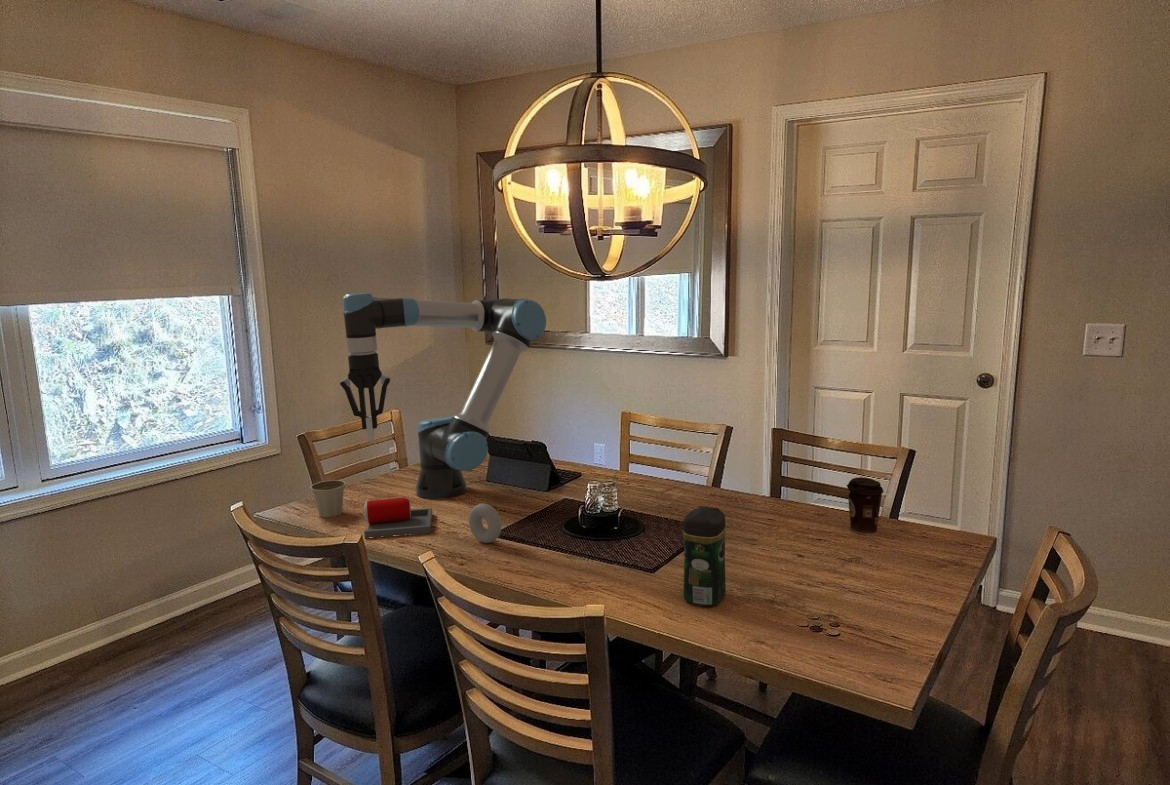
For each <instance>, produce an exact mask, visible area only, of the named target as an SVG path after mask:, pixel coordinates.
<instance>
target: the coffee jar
mask: <svg viewBox="0 0 1170 785" xmlns="http://www.w3.org/2000/svg"><path fill="white" fill-rule="evenodd" d="M682 524H683V527H682V535H683V549H684V550H683V552H684V553H683V554H684V555H683V556H684V557H683V562H684V563H683V598H684V599H683V600H685V601H686V602H687V603H690V604H691V605H693V606H696V607H715V606H717V605H719V603H720V602H721V601H722V600H723V598H724V596H725V594H726V588H727V587H726V586H727V585H726V583H727V582H726V516H725V514H724V512H723V511H722V510H720V509H719V507H713V506H712V507H711V506H703V505H701V506H699V507H698V508H695V509H693V510H691V511H690V512H689V513H688V514H687V515H686V516H685V517H684V518H683V522H682Z"/></svg>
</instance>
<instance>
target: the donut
mask: <svg viewBox="0 0 1170 785" xmlns="http://www.w3.org/2000/svg"><path fill="white" fill-rule="evenodd" d="M483 518H484V520H485V521H486V522H487V528H486V527H485V526H484V524H483ZM468 525H469V529H470V532H471V533H472V535H473V536H474V537H475V539H477V541H479V542H481V543H483V544H491V543H493V542H495V541H496V540H497V539H498V538H499V537H500V535H501V531H502V521H501V517H500V514H499V513H498V512H497V510H496V508H494V507H493V506H492V505H490V504H487V503H478V504H476V505H475V506H473V508H471V510H470V512H469V515H468Z"/></svg>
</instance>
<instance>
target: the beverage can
mask: <svg viewBox="0 0 1170 785" xmlns="http://www.w3.org/2000/svg"><path fill="white" fill-rule="evenodd" d="M363 506H364V507H363V509H364V510H363V512H364V521H365V522H367V524H368V525H369V524H374V523H384V522H393V521H403V520H407V519H408V518H410V517H411V509H412V508H411V500H410V499H409V498H407V497H394V498H386V499H385V498H384V499H373V500H367V501H365V503H364V505H363Z"/></svg>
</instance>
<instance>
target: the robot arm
mask: <svg viewBox="0 0 1170 785" xmlns="http://www.w3.org/2000/svg"><path fill="white" fill-rule="evenodd" d="M342 313H343V321H344V327H345V340H346V341H345V342H346V348H347V349H346V350H347V353H348V354H349V355H347V360H348V369H349V371H348V374H347V377H346V378H345V379H342V380H341V381H340V382H339V385H340V386H341V388H342V389H343V390H344V392H345V395H346V398H347V400H348V403H349V405H350V407H351V411H352V414H353V416H355V417H359V418H360V419H361V428H362V430H366V435H367V442H368V443H372V442H373V443H374V442H375V432H374V431H375V430H374V429H377V427H378V418H377V416H379V415H382V414H383V412H384V407H385V400H386V395H387V389H388V386H389V384H390V382H391V377H389V376H386V375H383V373H382V371H381V369H380V363H379V354H378V353H377V351H378V343H377V341H378V340H377V339H378V338H377V332H376V331H377V330H376V329H386V328H401V327H405V328H407V327H411V326H412V327H437V328H464V329H467V328H468V329H471V330H472V331H473V332H483V333H487V334H488V333H489V334H492V336H493V343H492V345H491V347H490V349H489V351H488V352H487V356H486V357H485V360H484V362H483V364H482V366H481V368H480V370H479V373H478V374H477V377H476V379H475V381H474V383H473V385H472V387H471V388H470V389H471V390H470V392H469V393H468V395H467V398H466V400H465V401H464V404H463V406H462V408H461V411H460V412H459V413H457V414H455V415H454V414H453V415H452V416H444V417H435V418H429V419H424V420H421V421H419V422H418V425H417V438H418V448H419V450H418V451H419V460H420V464H419V465H420V471H419V475H418V478H417V481H416V487H415V489H416V490H415V491H416V492H415V493H416V496H417V497H419V498H421V497H422V499H426V498H428V500H429V499H430V500H442V499H443V500H444V498H445V499H451V498H454V497H458V496H461V495H463V494H464V493H466V492H467V482H466V480H465V477H464V474H463V472H462V471H464V472H468V471H472V470H474V469H476V468H478V467H480V465H482V464H483V462H484V461H485V460H486V458H487V456H488V453H489V446H488V441H487V439H488V437H489V434H490V431H489V428H488V424H489V422H490V420H491V417H492V416H493V413H494V412H495V409H496V407H497V405H498V402H499V400H500V399H501V396H502V394H503V391H504V390H505V388H506V386H507V384H508V381H509V379H510V376H512V374H513V373H512V372H513V371H514V368H515V366H516V365H517V362H518V359H519V358H520V356H521V354H522V353H523V352H525V351H528V350H529V348H530V345H531V344H532V341H533V340H536V339H538V338H540V337H541V336H542V335H543V334H544V332H545V330H546V326H547V316H546V313H545V310H544V308H543V307H542V305H541V304H539V303H538V302H537V301H535V300H532V299H528V298H497V299H485V300H484V299H475V300H473V301H472V302H461V301H460V302H459V301H457V302H456V301H442V300H441V301H439V300H423V299H415V298H412V297H399V298H389V297H388V298H387V297H386V298H385V297H384V298H383V297H376V296H375V297H373V294H372V293H371V292H362V293H360V292H359V293H348V294H345V295H344V296H343V298H342ZM379 380H380V384H382V385H381V390H380V398H379V402H378V403H379V404H378V409H377V407H376V406H377V403H376V393H375V387H376V385H377V384H378V382H379ZM351 383H352V384H353V386H355V387H356V388H357V391H358V400H359V401H358V402H359V407H358V404H357V402H356V399H355V395H354V394H353V392H352V388H351ZM365 389H368V397H369V408H370V415H367V408H366V407H367V406H366V405H367V404H366V395H365ZM465 491H466V492H465Z"/></svg>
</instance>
